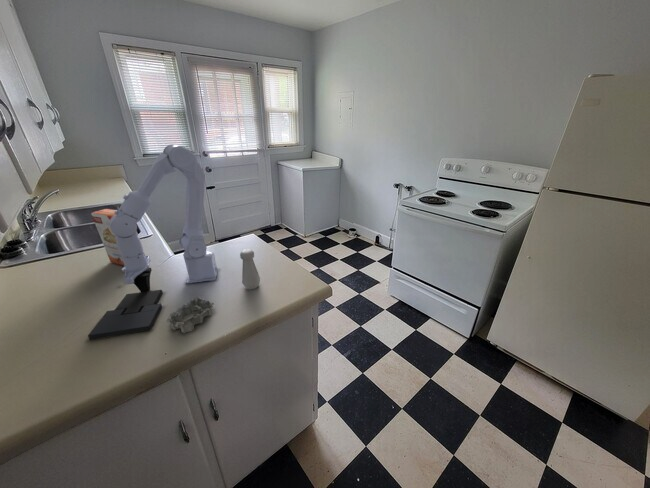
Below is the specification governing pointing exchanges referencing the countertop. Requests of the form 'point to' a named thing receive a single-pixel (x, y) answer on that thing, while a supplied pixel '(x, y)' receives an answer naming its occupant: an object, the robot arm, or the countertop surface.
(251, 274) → the salt shaker
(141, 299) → the black pad
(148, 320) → the charcoal pad
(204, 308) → the egg carton
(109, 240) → the cracker box
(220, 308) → the countertop surface
